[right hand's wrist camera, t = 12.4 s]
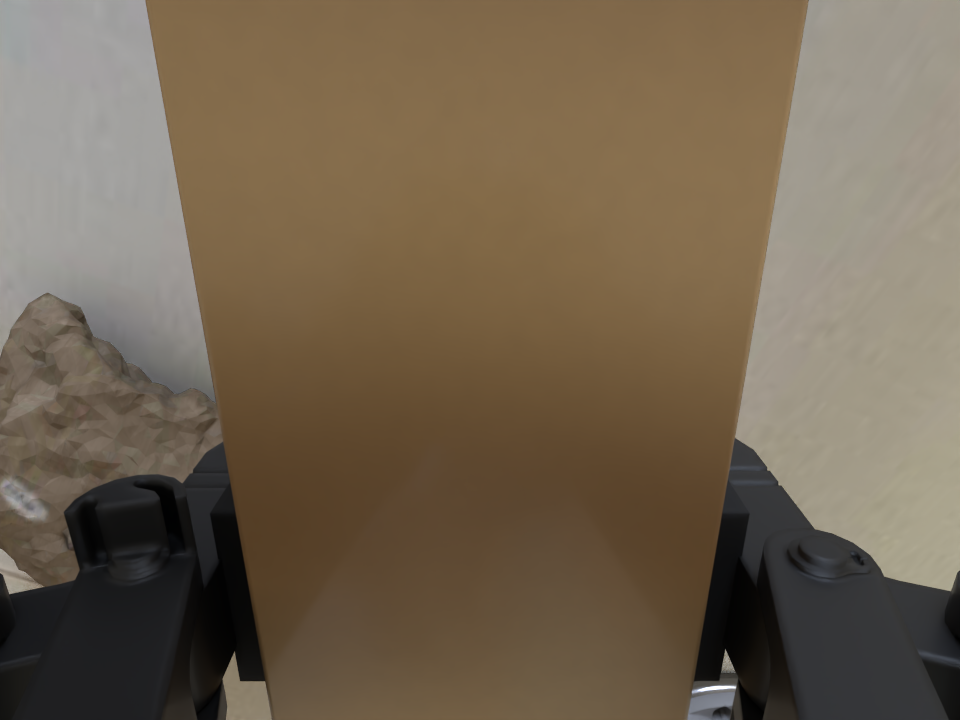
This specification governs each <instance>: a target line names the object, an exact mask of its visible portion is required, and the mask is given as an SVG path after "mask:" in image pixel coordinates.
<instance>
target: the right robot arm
mask: <svg viewBox="0 0 960 720" xmlns="http://www.w3.org/2000/svg"><path fill="white" fill-rule="evenodd" d="M64 516H65V519H66V523H67V526H68V530H69V534H70V537H71V541H72V544H73V548H74V551H75V555H76V559H77V562H78V566H79V569H80V570H79V572H78V575H77V577H76V579H75V580H73V581H69V582H65V583H62V584H57V585H52V586H47V587H42V588H38V589H33V590H28V591H23V592H18V593H13V594H9V592H8V589H7V586H6V583H5V580H4V577H3V575H2V574H0V720H226V712H227V702H226V696H225V690H224V685H223V680H222V678H223V676H224V674H225V672H226V669H227V667H228V665H229V663H230V660H231V658H232V656H233V653H234V651H235V655H236V661H237V666H238V672H239V677H240V681H265V677H264V671H263V665H262V660H261V654H260V648H259V643H258V637H257V631H256V625H255V620H254V614H253V608H252V603H251V597H250V591H249V586H248V580H247V574H246V569H245V563H244V557H243V552H242V546H241V540H240V535H239V529H238V523H237V518H236V512H235V506H234V500H233V495H232V489H231V483H230V478H229V472H228V466H227V461H226V455H225V449H224V444H223V442H221V443H220V444H218V445H217V446H215V447H214V448H212V449H211V450H209V451H207V452H206V453H205V455H204V456H203V457H202V458H201V460H200V461H199V462H198V464H197V465H196V466H195V468H194V469H193V473H190V474H189V475H188V477H187V478H186V479H185V481H184V482H183V483H181V482H180V481H178V480H177V479H176V478H174V477H169V476H164V475H160V474H149V475H135V476H130V477H125V478H121V479H116V480H113V481H110V482H108V483H105V484H103V485H100V486H97V487H95V488H92V489H91V490H89V491H88V492H86V493H84V494H83V495H81V496H80V497H78V498H76V499H75V500H74V501H73V502H72V503H71V504H70V505H69V507H68V508H67V509H66V510H65V511H64ZM725 649H726V651H727V653H728V656H729V658H730V660H731V662H732V665H733V667H734V669H735V671H736V673H721V669H722V664H723V658H724V653H725ZM687 720H960V571H959V572H958V573H957V576H956V579H955V582H954V585H953V588H952V591H946V590H941V589H936V588H932V587H927V586H922V585H917V584H912V583H907V582H902V581H898V580H894V579H890V578H887V577H884V576H883V573H882V571H881V569H880V568H879V566H878V565H877V564H876V562H875V561H874V560H873V558H872V557H871V556H870V555H869V554H868V553H866V552H865V551H864V550H862V549H861V548H859V547H858V546H857V545H855V544H854V543H852V542H850V541H848V540H845V539H843V538H841V537H839V536H836V535H834V534H832V533H828V532H824V531H820V530H815V529H814V528H813V526H812V525H811V524H810V522H809V521H808V520H807V519H806V517H805V516H804V515H803V513H802V512H801V511H800V509H799V508H798V507H797V506H796V504H795V503H794V502H793V500H792V499H791V498H790V496H789V495H788V494H787V493H786V491H785V490H784V489H783V487H782V486H779V485H778V481H777V480H776V478H775V477H774V476H773V474H772V473H771V472H770V471H767V467H766V465H765V464H764V463H763V461H762V460H761V459H760V458H759V456H758V455H757V454H756V452H755V451H754V450H753V449H751V448H750V447H748V446H747V445H745V444H743V443H742V442H740V441H739V440H737V439H736V438H735V440H734V446H733V452H732V457H731V463H730V469H729V475H728V481H727V487H726V493H725V499H724V505H723V511H722V517H721V523H720V529H719V535H718V540H717V546H716V552H715V558H714V564H713V570H712V576H711V582H710V588H709V594H708V600H707V606H706V612H705V618H704V623H703V629H702V635H701V641H700V647H699V653H698V659H697V665H696V671H695V677H694V683H693V689H692V695H691V701H690V706H689V712H688V718H687Z"/></svg>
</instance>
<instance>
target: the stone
mask: <svg viewBox="0 0 960 720" xmlns="http://www.w3.org/2000/svg"><path fill="white" fill-rule="evenodd" d="M221 442H223V438H222V432H221V427H220V421H219V415H218V410H217V404H216V403H215V402H213V401H211V400H210V399H209V398H208V396H206V395H205V394H204V393H202V392H200V391H198V390H196V389H191V388H190V389H188V390H186V391H184V392H182V393H180V394H174V393H173V392H172V391H170V390H169V389H168V388H167V387H166V386H164V385H161V384H158V383H152V382H151V381H150V379H149V378H148V377H147V376H146V375H145V374H144V372H143V371H142V370H141V369H140V368H139V367H137V366H135V365H133V364H129V363H126V362H125V360H124V359H123V357H122V355H121V354H120V353H119V352H118V351H117V350H116V349H115V347H114V346H113V345H112V344H111V343H110V342H106V341H103V340H101V339H98V338H95V337H94V336H93V335H92V333H91V330H90V328H89V326H88V324H87V322H86V319H85V316H84V314H83V312H82V310H81V308H80V307H78V306H76V305H74V304H71V303H68V302H65V301H63V300H61V299H59V298H57V297H55V296H53V295H51V294H49V293H46V294H44V295H42V296H41V297H39V298H37V299H36V300H34V301H32V302H31V303H29V304H28V305H27V307H26V309H25V310H24V312H23V313H22V314H21V316H20V317H19V318H18V320H17V321H16V322H15V324H14V326H13V327H12V329H11V331H10V335H9V338H8V340H7V342H6V343H5V345H4V347H3V350H2V353H1V357H0V548H1V549H3V550H4V551H5V552H6V553H7V554H8V555H9V556H10V557H11V558H12V559H13V560H14V561H15V563H16V565H17V567H18V569H19V570H22V571H24V572H26V573H27V574H28V575H30V576H31V577H32V578H33V579H34V580H35V581H37V582H38V583H40V584H41V585H43V586H45V587H47V586H52V585H57V584H62V583H65V582H69V581H73V580H75V579H76V577H77V575H78V572H79V570H80V569H79V566H78V562H77V559H76V555H75V551H74V548H73V544H72V541H71V537H70V534H69V530H68V526H67V523H66V519H65V516H64V511H65V510H66V509H67V508H68V507H69V505H70V504H71V503H72V502H73V501H74V500H75V499H76V498H78V497H80V496H81V495H83V494H84V493H86V492H88V491H89V490H91V489H92V488H95V487H97V486H100V485H103V484H105V483H108V482H110V481H113V480H116V479H121V478H125V477H130V476H135V475H149V474H160V475H164V476H169V477H174V478H176V479H177V480H178V481H180V482H181V483H183V482H184V481H185V479H186V478H187V477H188V475H189V474H190V473H193V469H194V468H195V466H196V465H197V464H198V462H199V461H200V460H201V458H202V457H203V456H204V455H205V453H206V452H207V451H209V450H211V449H212V448H214V447H215V446H217V445H218V444H220V443H221Z"/></svg>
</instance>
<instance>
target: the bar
mask: <svg viewBox="0 0 960 720" xmlns="http://www.w3.org/2000/svg"><path fill="white" fill-rule="evenodd" d="M808 1H809V0H146V6H147V12H148V18H149V23H150V29H151V35H152V40H153V46H154V52H155V57H156V63H157V69H158V74H159V80H160V86H161V91H162V97H163V103H164V108H165V114H166V120H167V125H168V131H169V137H170V143H171V148H172V154H173V160H174V165H175V171H176V177H177V182H178V188H179V194H180V199H181V205H182V211H183V216H184V222H185V228H186V233H187V239H188V245H189V250H190V256H191V262H192V268H193V273H194V279H195V285H196V290H197V296H198V302H199V307H200V313H201V319H202V324H203V330H204V336H205V341H206V347H207V353H208V358H209V364H210V370H211V375H212V381H213V387H214V393H215V398H216V404H217V410H218V415H219V421H220V427H221V432H222V438H223V444H224V449H225V455H226V461H227V466H228V472H229V478H230V483H231V489H232V495H233V500H234V506H235V512H236V518H237V523H238V529H239V535H240V540H241V546H242V552H243V557H244V563H245V569H246V574H247V580H248V586H249V591H250V597H251V603H252V608H253V614H254V620H255V625H256V631H257V637H258V643H259V648H260V654H261V660H262V665H263V671H264V677H265V682H266V688H267V694H268V699H269V705H270V711H271V716H272V720H687V718H688V712H689V706H690V701H691V695H692V689H693V683H694V677H695V671H696V665H697V659H698V653H699V647H700V641H701V635H702V629H703V623H704V618H705V612H706V606H707V600H708V594H709V588H710V582H711V576H712V570H713V564H714V558H715V552H716V546H717V540H718V535H719V529H720V523H721V517H722V511H723V505H724V499H725V493H726V487H727V481H728V475H729V469H730V463H731V457H732V452H733V446H734V440H735V434H736V428H737V422H738V416H739V410H740V404H741V398H742V392H743V386H744V380H745V374H746V369H747V363H748V357H749V351H750V345H751V339H752V333H753V327H754V321H755V315H756V309H757V303H758V297H759V291H760V286H761V280H762V274H763V268H764V262H765V256H766V250H767V244H768V238H769V232H770V226H771V220H772V214H773V208H774V203H775V197H776V191H777V185H778V179H779V173H780V167H781V161H782V155H783V149H784V143H785V137H786V131H787V125H788V120H789V114H790V108H791V102H792V96H793V90H794V84H795V78H796V72H797V66H798V60H799V54H800V48H801V42H802V37H803V31H804V25H805V19H806V13H807V7H808Z"/></svg>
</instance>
